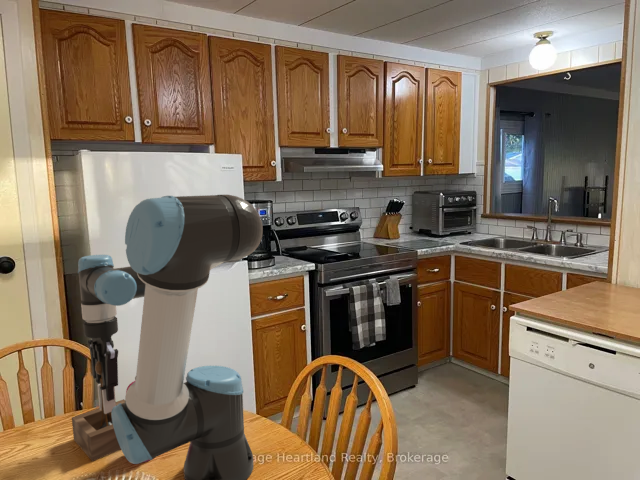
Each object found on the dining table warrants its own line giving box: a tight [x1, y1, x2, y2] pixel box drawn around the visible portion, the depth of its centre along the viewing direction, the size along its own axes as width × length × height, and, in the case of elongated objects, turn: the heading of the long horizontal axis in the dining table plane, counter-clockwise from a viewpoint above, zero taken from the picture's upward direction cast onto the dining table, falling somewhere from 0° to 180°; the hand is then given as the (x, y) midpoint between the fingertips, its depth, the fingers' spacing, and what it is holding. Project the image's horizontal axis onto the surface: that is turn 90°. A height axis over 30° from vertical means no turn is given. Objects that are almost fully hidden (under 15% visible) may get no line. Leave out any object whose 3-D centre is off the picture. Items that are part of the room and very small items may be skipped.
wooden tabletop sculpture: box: [95, 361, 113, 429], centre depth 113 cm, size 6×5×20 cm
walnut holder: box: [71, 398, 125, 462], centre depth 114 cm, size 13×13×6 cm
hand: (107, 409), depth 114 cm, fingers open, 2 cm apart
